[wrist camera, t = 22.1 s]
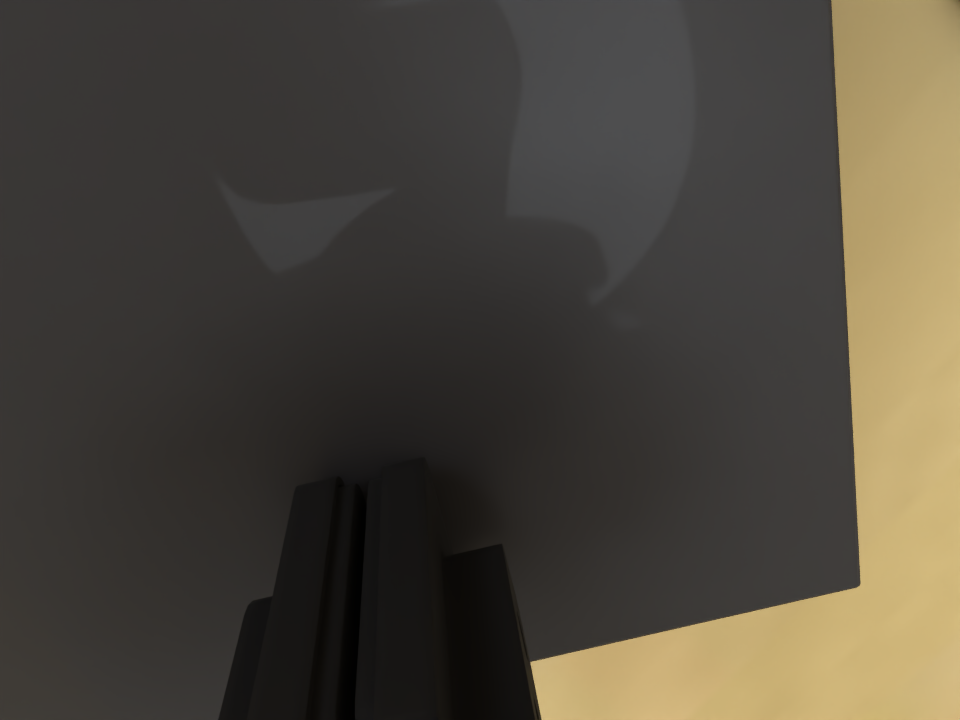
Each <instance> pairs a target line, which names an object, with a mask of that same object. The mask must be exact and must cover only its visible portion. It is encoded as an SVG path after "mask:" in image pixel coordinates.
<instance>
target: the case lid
mask: <svg viewBox="0 0 960 720" xmlns="http://www.w3.org/2000/svg"><path fill="white" fill-rule="evenodd" d="M420 457H425V459H426V461H427V464H428V467H429V470H430V474H431V477H432V481H433V484H434V488H435V491H436V495H437V498H438V502H439V505H440V509H441V513H442V516H443V520H444V523H445V527H446V530H447V534H448V537H449V541H450V544H451V548H452V551H453V555H454V554H458V553H463V552H467V551H471V550H476V549H480V548H485V547H489V546H493V545H498V544H503V547H504V550H505V554H506V558H507V562H508V566H509V570H510V574H511V579H512V583H513V587H514V591H515V595H516V599H517V604H518V608H519V612H520V617H521V622H522V626H523V631H524V635H525V640H526V645H527V650H528V655H529V659H530V662H532V661H536V660H540V659H545V658H549V657H554V656H558V655H562V654H567V653H571V652H576V651H580V650H584V649H589V648H593V647H597V646H602V645H606V644H611V643H615V642H619V641H624V640H628V639H633V638H637V637H641V636H646V635H650V634H655V633H659V632H663V631H668V630H672V629H676V628H681V627H685V626H690V625H694V624H698V623H703V622H707V621H712V620H716V619H720V618H725V617H729V616H734V615H738V614H742V613H747V612H751V611H755V610H760V609H764V608H769V607H773V606H777V605H782V604H786V603H791V602H795V601H799V600H804V599H808V598H813V597H817V596H821V595H826V594H830V593H834V592H839V591H843V590H848V589H852V588H856V587H858V586H860V566H859V546H858V526H857V506H856V486H855V467H854V447H853V427H852V407H851V387H850V367H849V347H848V327H847V307H846V287H845V267H844V247H843V227H842V207H841V187H840V167H839V147H838V127H837V107H836V87H835V67H834V47H833V27H832V7H831V0H0V720H218V719H219V714H220V710H221V706H222V702H223V698H224V694H225V690H226V686H227V682H228V678H229V674H230V670H231V666H232V662H233V658H234V654H235V650H236V646H237V642H238V638H239V634H240V630H241V626H242V622H243V618H244V614H245V611H246V609H247V606H248V605H249V604H250V603H251V602H252V601H253V600H257V599H261V598H266V597H270V596H273V591H274V586H275V581H276V577H277V572H278V567H279V562H280V557H281V553H282V548H283V543H284V538H285V533H286V529H287V524H288V519H289V514H290V509H291V505H292V500H293V495H294V491H295V488H296V486H298V485H302V484H306V483H311V482H315V481H319V480H324V479H328V478H332V477H337V476H339V477H341V478H342V480H343V482H344V484H345V486H347V485H352V484H356V483H357V484H358V485H359V487H360V488H361V491H362V493H363V496H364V499H365V502H366V505H367V496H368V483H369V481H370V480H374V479H378V478H382V467H383V466H385V465H389V464H394V463H398V462H402V461H407V460H411V459H415V458H420Z"/></svg>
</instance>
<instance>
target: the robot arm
mask: <svg viewBox="0 0 960 720" xmlns="http://www.w3.org/2000/svg"><path fill="white" fill-rule="evenodd" d="M218 720H541V715H540V710H539V705H538V700H537V695H536V690H535V685H534V680H533V675H532V670H531V665H530V659H529V655H528V650H527V645H526V640H525V635H524V631H523V626H522V622H521V617H520V612H519V608H518V604H517V599H516V595H515V591H514V587H513V583H512V579H511V574H510V570H509V566H508V562H507V558H506V554H505V550H504V547H503V544H498V545H493V546H489V547H485V548H480V549H476V550H471V551H467V552H463V553H458V554H454V555H453V551H452V548H451V544H450V541H449V537H448V534H447V530H446V527H445V523H444V520H443V516H442V513H441V509H440V505H439V502H438V498H437V495H436V491H435V488H434V484H433V481H432V477H431V474H430V470H429V467H428V464H427V461H426V459H425V457H420V458H415V459H411V460H407V461H402V462H398V463H394V464H389V465H385V466H383V467H382V478H378V479H374V480H370V481H369V483H368V496H367V505H366V502H365V499H364V496H363V493H362V491H361V488H360V487H359V485H358V484H357V483H356V484H352V485H347V486H345V484H344V482H343V480H342V478H341V477H339V476H337V477H332V478H328V479H324V480H319V481H315V482H311V483H306V484H302V485H298V486H296V488H295V491H294V495H293V500H292V505H291V509H290V514H289V519H288V524H287V529H286V533H285V538H284V543H283V548H282V553H281V557H280V562H279V567H278V572H277V577H276V581H275V586H274V591H273V596H270V597H266V598H261V599H257V600H253V601H252V602H251V603H250V604H249V605H248V606H247V609H246V611H245V614H244V618H243V622H242V626H241V630H240V634H239V638H238V642H237V646H236V650H235V654H234V658H233V662H232V666H231V670H230V674H229V678H228V682H227V686H226V690H225V694H224V698H223V702H222V706H221V710H220V714H219V719H218Z"/></svg>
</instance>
